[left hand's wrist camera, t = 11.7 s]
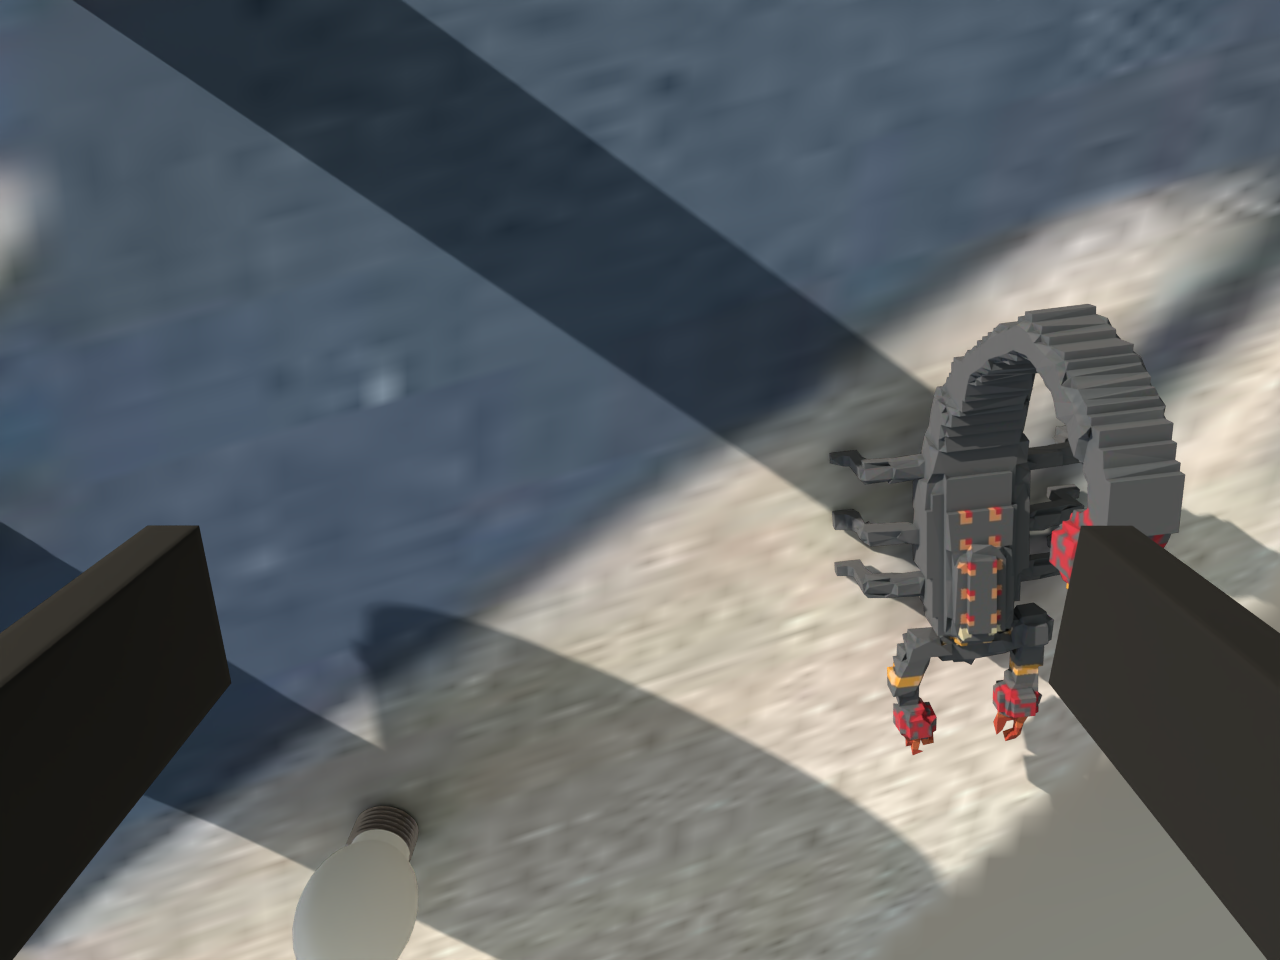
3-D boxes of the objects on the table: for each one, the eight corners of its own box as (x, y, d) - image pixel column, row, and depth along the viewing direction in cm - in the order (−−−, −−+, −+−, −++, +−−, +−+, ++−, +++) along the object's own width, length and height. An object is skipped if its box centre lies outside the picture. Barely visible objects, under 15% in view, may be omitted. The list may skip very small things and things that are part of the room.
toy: (1089, 253, 42) (1401, 314, 25) (1059, 698, 51) (1271, 966, 34) (822, 286, 42) (946, 369, 25) (841, 720, 52) (941, 995, 35)
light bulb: (326, 848, 55) (254, 1004, 45) (353, 772, 53) (285, 918, 43) (423, 878, 56) (375, 1037, 46) (454, 804, 54) (411, 955, 44)
